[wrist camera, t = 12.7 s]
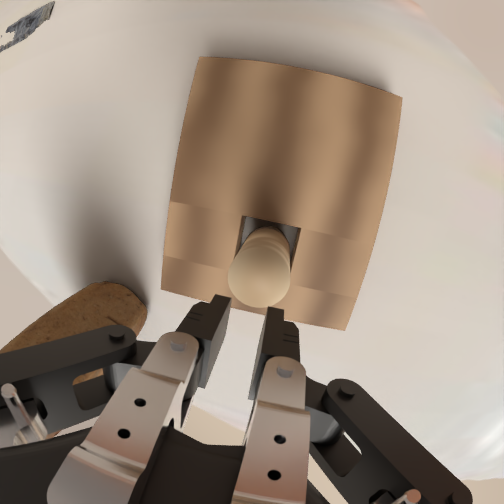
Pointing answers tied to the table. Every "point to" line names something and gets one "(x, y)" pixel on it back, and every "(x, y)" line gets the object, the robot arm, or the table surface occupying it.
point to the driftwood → (28, 24)
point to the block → (84, 319)
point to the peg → (261, 268)
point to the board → (280, 181)
